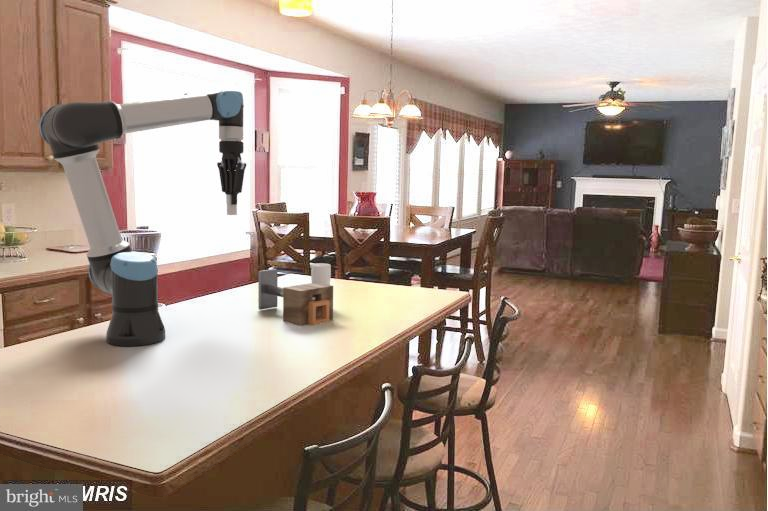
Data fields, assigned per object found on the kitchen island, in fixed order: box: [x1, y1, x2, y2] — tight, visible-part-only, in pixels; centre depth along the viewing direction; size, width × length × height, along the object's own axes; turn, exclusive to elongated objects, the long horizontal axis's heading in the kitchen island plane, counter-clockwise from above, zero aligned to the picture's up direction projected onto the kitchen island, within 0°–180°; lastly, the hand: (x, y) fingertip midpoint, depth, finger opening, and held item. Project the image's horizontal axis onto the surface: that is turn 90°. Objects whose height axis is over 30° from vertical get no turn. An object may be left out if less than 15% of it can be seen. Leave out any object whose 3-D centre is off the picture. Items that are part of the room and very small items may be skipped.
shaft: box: [257, 268, 318, 311], centre depth 208 cm, size 7×24×13 cm, turn 48°
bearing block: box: [282, 282, 334, 327], centre depth 202 cm, size 14×8×11 cm, turn 138°
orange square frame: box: [307, 300, 330, 326], centre depth 199 cm, size 7×2×7 cm, turn 138°
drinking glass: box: [310, 262, 332, 285], centre depth 222 cm, size 7×7×15 cm
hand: (231, 214), depth 206 cm, fingers closed
